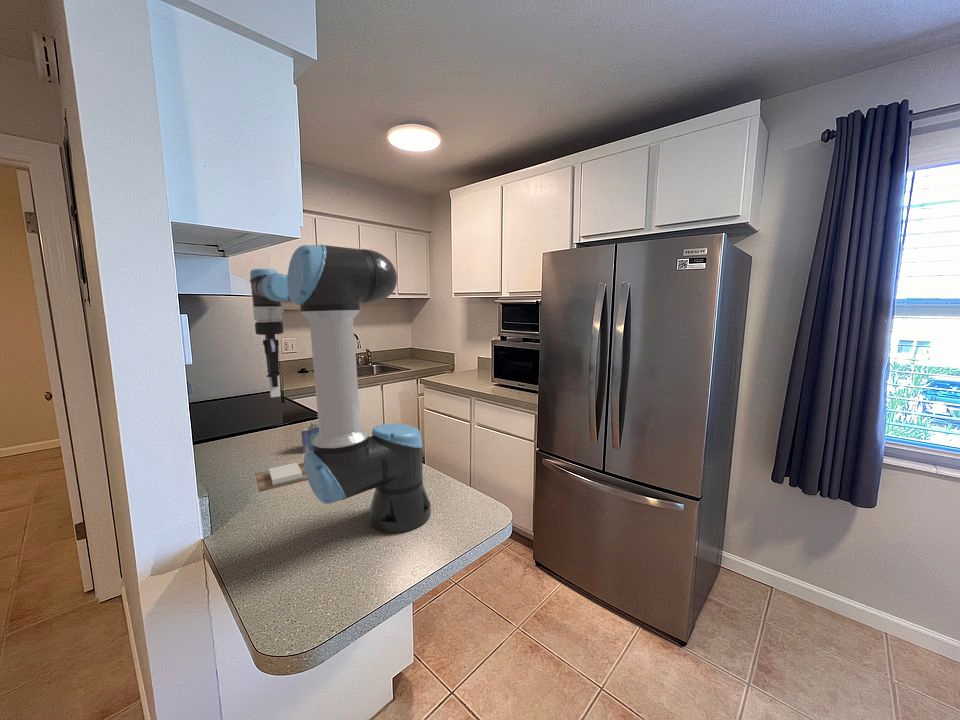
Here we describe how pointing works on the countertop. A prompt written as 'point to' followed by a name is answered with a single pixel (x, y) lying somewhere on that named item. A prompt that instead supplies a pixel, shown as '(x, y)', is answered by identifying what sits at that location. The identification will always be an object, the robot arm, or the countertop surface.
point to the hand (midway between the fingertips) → (275, 396)
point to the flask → (309, 437)
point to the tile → (285, 473)
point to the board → (266, 484)
